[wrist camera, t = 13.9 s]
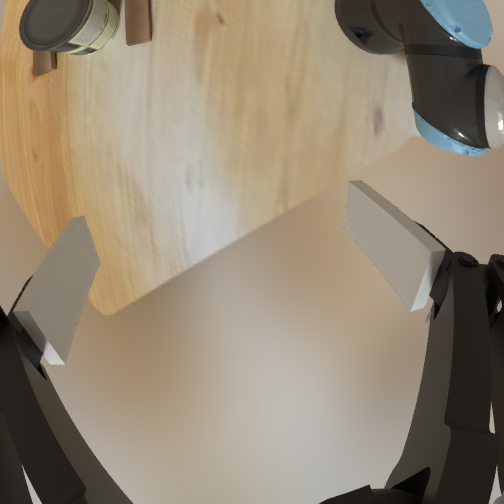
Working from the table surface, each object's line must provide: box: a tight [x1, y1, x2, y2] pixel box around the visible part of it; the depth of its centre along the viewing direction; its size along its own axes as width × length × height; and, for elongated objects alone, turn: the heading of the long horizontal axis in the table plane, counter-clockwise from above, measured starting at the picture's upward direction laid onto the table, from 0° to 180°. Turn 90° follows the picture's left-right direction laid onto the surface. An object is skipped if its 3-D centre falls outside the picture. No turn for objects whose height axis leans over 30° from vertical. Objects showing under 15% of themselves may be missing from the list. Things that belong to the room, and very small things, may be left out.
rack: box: [33, 0, 151, 76], centre depth 26 cm, size 20×16×4 cm
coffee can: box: [19, 0, 119, 56], centre depth 23 cm, size 10×10×14 cm
